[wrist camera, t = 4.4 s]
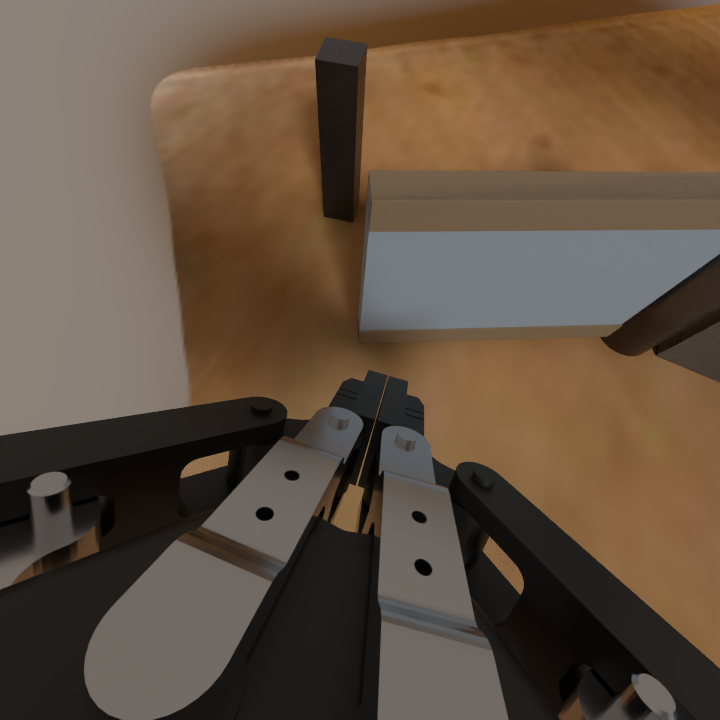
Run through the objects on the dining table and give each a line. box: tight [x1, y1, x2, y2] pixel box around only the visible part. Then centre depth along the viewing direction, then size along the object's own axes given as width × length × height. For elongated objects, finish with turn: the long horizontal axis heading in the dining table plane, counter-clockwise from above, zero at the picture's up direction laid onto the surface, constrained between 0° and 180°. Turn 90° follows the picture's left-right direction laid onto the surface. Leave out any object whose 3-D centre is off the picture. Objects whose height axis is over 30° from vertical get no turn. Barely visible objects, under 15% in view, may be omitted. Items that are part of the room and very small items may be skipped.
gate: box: [357, 171, 720, 344], centre depth 16 cm, size 14×1×9 cm, turn 93°
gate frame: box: [315, 37, 720, 382], centre depth 17 cm, size 29×3×12 cm, turn 62°
